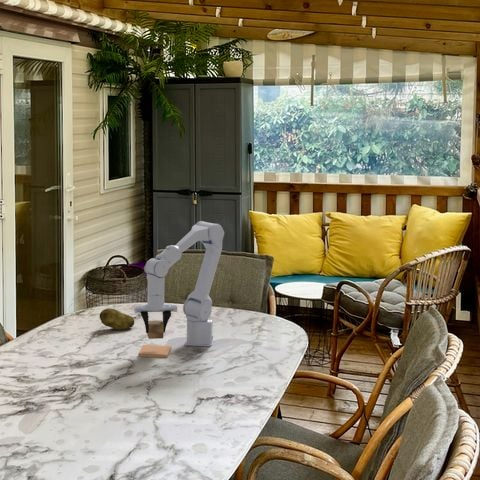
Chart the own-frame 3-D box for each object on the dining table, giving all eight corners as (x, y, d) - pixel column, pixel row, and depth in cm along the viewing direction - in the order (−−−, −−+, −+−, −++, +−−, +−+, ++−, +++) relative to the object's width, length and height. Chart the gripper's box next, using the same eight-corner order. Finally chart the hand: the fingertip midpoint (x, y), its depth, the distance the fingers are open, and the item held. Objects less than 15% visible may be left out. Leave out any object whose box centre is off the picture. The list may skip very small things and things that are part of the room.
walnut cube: (161, 334, 260) (161, 320, 259) (163, 338, 255) (163, 324, 254) (147, 334, 259) (147, 320, 258) (148, 338, 254) (148, 324, 253)
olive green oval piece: (132, 332, 281) (132, 311, 280) (97, 331, 281) (98, 310, 280) (135, 326, 289) (135, 306, 288) (102, 325, 289) (102, 305, 288)
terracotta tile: (171, 348, 262) (171, 346, 262) (167, 357, 252) (167, 354, 252) (143, 347, 263) (143, 344, 263) (138, 356, 253) (138, 353, 253)
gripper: (175, 290, 260) (174, 328, 262) (133, 291, 257) (133, 329, 259) (178, 295, 253) (177, 334, 255) (135, 296, 250) (134, 335, 252)
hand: (155, 332), depth 256 cm, fingers closed on walnut cube, 5 cm apart
